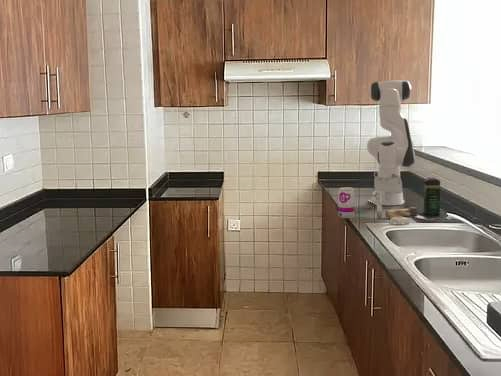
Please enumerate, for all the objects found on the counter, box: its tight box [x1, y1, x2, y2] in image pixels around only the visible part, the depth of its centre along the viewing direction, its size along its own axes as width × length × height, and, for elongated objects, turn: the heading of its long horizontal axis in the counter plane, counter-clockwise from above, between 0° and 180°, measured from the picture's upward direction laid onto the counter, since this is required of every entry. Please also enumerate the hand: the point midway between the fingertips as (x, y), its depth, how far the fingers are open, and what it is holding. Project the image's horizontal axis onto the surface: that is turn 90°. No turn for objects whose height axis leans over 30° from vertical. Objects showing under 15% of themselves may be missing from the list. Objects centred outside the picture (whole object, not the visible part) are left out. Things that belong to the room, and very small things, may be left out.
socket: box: [390, 216, 410, 225], centre depth 275 cm, size 6×6×2 cm
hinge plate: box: [408, 213, 435, 221], centre depth 289 cm, size 18×6×1 cm, turn 20°
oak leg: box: [384, 206, 418, 219], centre depth 292 cm, size 17×4×3 cm, turn 110°
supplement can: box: [337, 186, 356, 219], centre depth 297 cm, size 8×8×15 cm
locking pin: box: [376, 204, 383, 220], centre depth 290 cm, size 3×3×7 cm
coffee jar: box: [423, 177, 441, 216], centre depth 297 cm, size 10×8×19 cm
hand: (388, 200), depth 295 cm, fingers closed
